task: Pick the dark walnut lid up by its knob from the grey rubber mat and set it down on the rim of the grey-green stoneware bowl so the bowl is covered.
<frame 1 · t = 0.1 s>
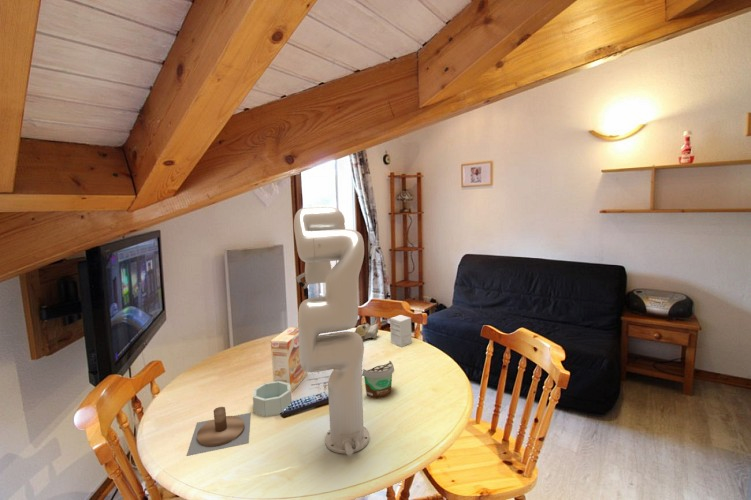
hand: (319, 296, 142), 31 cm above the table, fingers open, 9 cm apart
lid: (221, 432, 108), point 1 cm above the table, touching mat
coffeecake box: (291, 383, 138), on the table
mat: (221, 434, 108), on the table
white mini drawer cabinet: (401, 343, 174), on the table
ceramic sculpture: (364, 339, 181), on the table
food container: (382, 395, 127), on the table
bowl: (273, 407, 122), on the table
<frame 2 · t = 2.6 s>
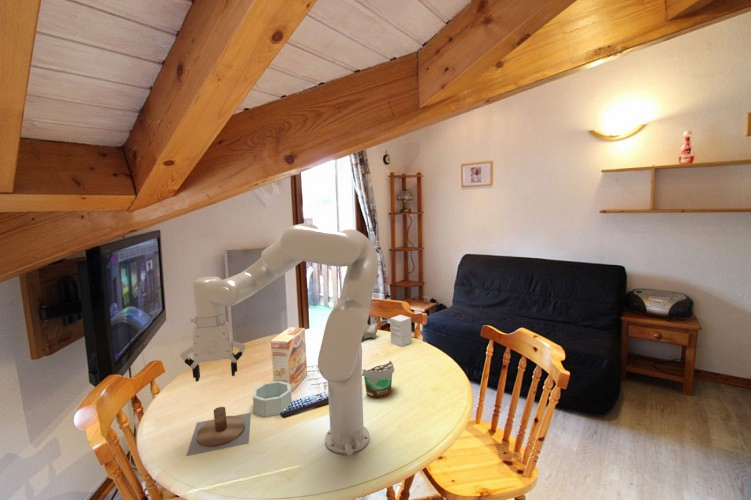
hand: (216, 376, 106), 18 cm above the table, fingers open, 9 cm apart
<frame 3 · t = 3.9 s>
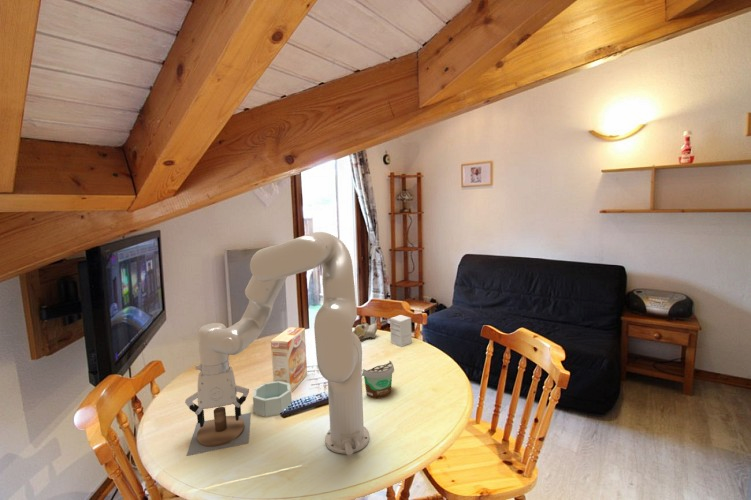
hand: (220, 421, 107), 4 cm above the table, fingers open, 9 cm apart
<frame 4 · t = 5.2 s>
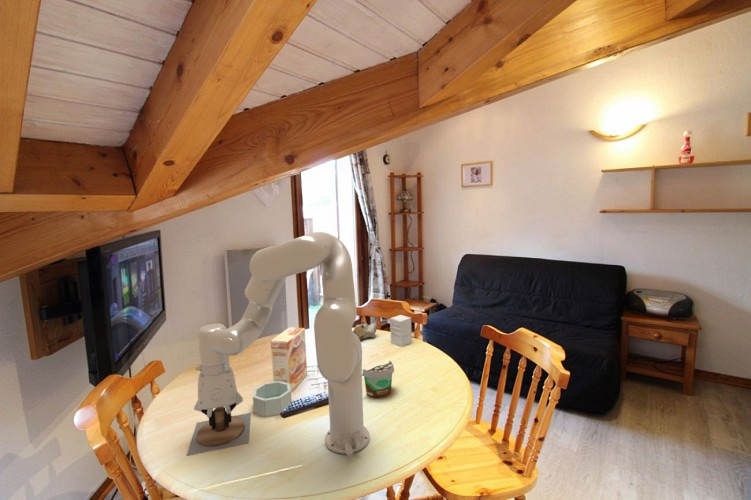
hand: (220, 425, 107), 3 cm above the table, fingers closed on lid, 3 cm apart
lid: (221, 432, 108), point 1 cm above the table, touching gripper, mat
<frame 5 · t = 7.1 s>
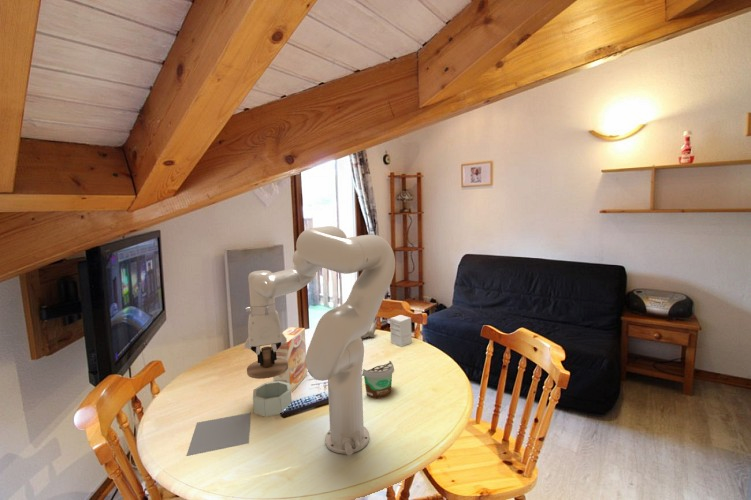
hand: (267, 362, 119), 16 cm above the table, fingers closed on lid, 3 cm apart
lid: (267, 369, 119), point 14 cm above the table, touching gripper
when the fingers open (10 cm above the table, at t = 9.0 s): lid drops 1 cm, resting on bowl.
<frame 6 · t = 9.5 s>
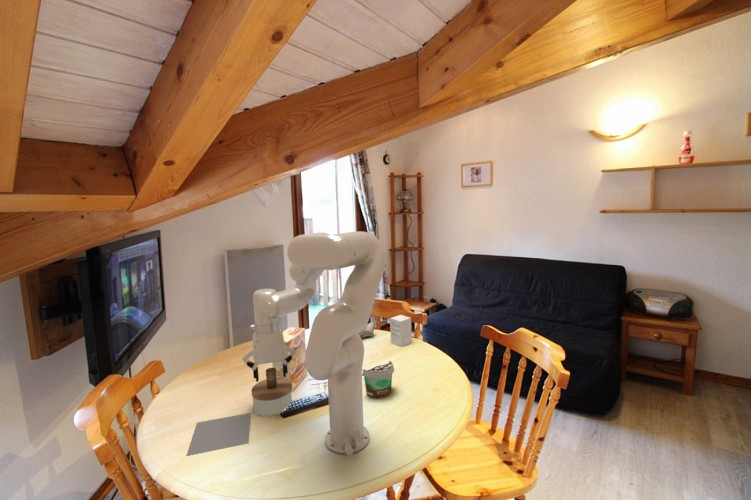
hand: (271, 377, 120), 11 cm above the table, fingers open, 8 cm apart
lid: (272, 390, 121), point 6 cm above the table, touching bowl
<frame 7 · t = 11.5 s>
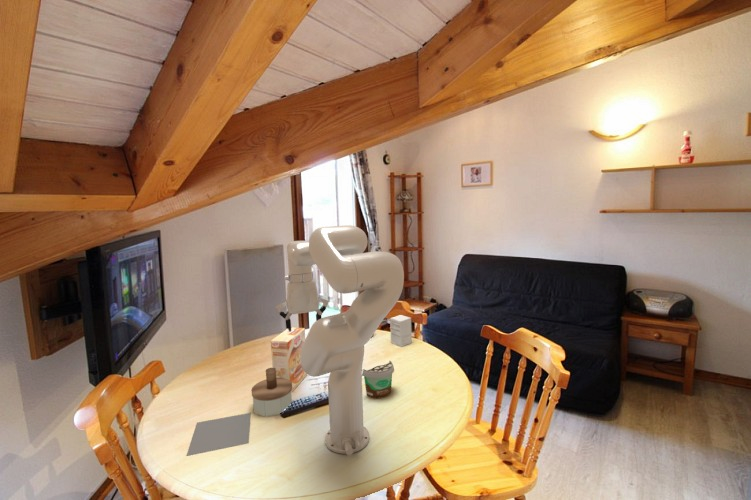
hand: (304, 328, 122), 26 cm above the table, fingers open, 9 cm apart
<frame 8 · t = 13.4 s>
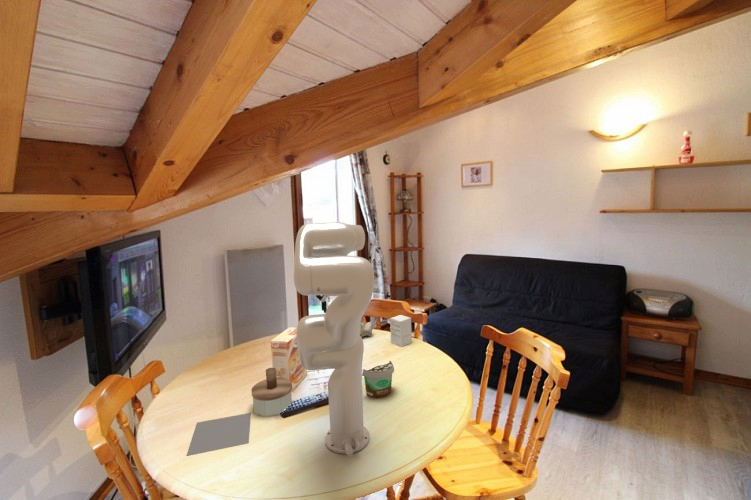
hand: (338, 310, 126), 30 cm above the table, fingers open, 9 cm apart
at the end: lid 0.1 cm off-centre on the bowl, point 6.0 cm above the bowl's base; lid tilted 0°; the gripper is holding nothing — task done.
